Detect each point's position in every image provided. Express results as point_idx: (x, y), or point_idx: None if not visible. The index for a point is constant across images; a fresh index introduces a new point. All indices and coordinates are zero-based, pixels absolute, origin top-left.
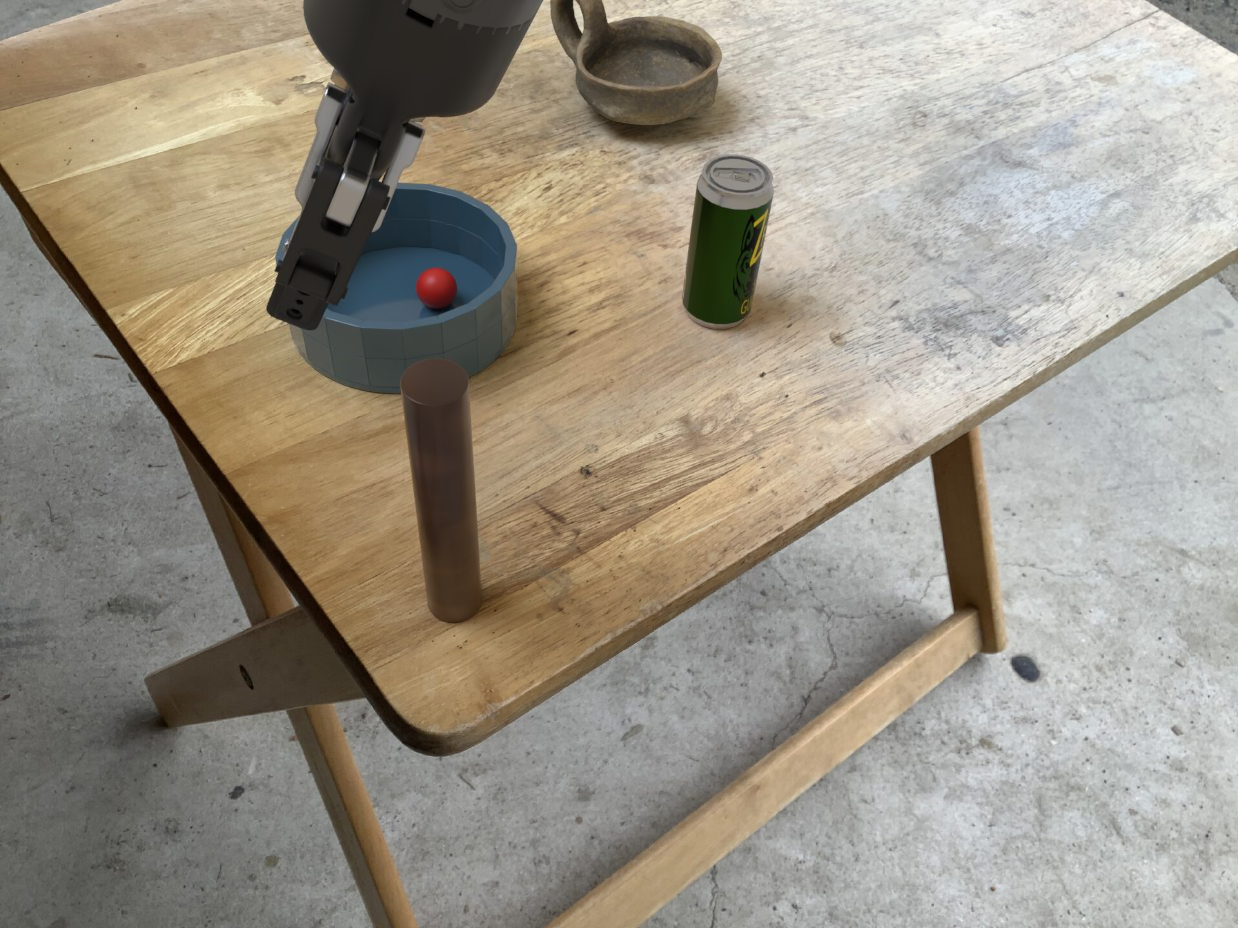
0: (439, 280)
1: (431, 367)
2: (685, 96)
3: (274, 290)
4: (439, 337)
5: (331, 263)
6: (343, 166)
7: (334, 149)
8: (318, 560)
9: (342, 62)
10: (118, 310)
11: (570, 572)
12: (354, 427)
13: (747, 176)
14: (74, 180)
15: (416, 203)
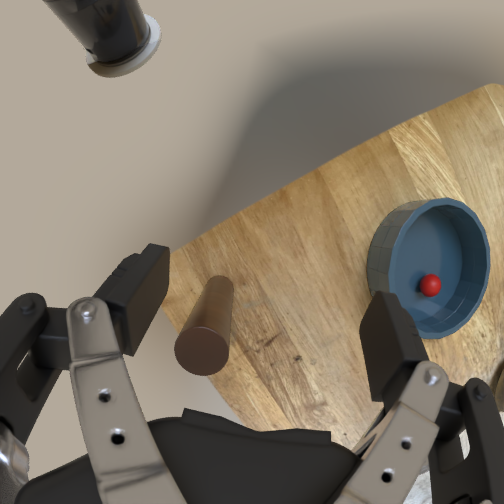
0: (431, 289)
1: (217, 351)
2: (501, 402)
3: (135, 261)
4: None
5: (57, 365)
6: (3, 475)
7: (32, 482)
8: (252, 218)
9: None
10: (426, 116)
11: (232, 345)
12: (345, 236)
13: (424, 465)
14: (492, 106)
15: (479, 277)
